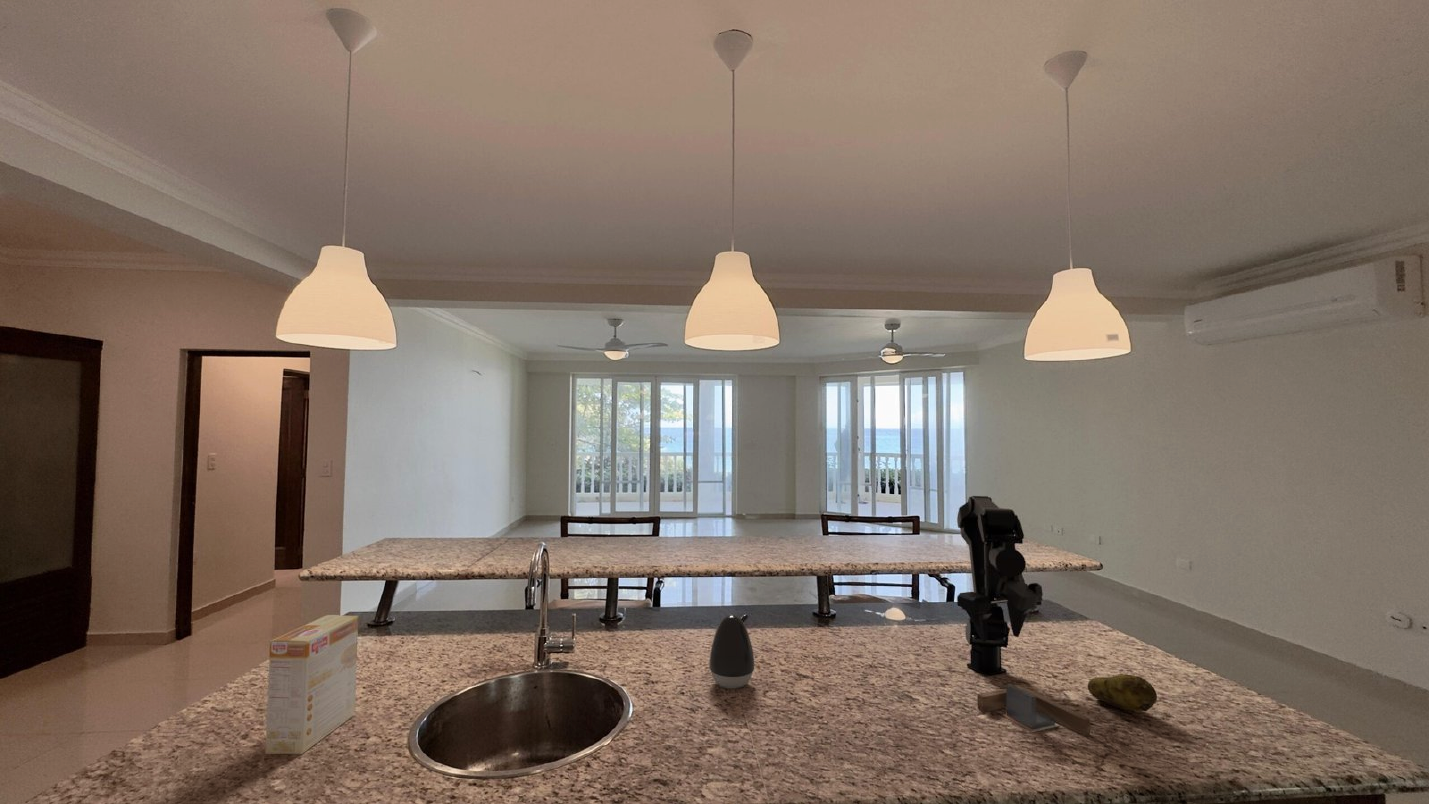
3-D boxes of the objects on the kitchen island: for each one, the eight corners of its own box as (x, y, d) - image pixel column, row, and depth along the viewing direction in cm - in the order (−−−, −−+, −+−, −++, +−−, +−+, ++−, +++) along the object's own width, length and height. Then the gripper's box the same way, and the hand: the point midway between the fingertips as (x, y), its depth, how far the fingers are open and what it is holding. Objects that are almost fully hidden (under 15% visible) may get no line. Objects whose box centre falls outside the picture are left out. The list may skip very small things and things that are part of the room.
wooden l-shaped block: (1019, 699, 127) (1019, 685, 127) (1090, 735, 112) (1089, 718, 112) (975, 708, 122) (975, 693, 123) (1043, 746, 107) (1042, 729, 108)
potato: (1121, 696, 128) (1120, 659, 129) (1166, 725, 115) (1164, 683, 116) (1082, 696, 128) (1081, 658, 129) (1123, 725, 116) (1122, 683, 116)
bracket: (1006, 715, 119) (1006, 685, 119) (1029, 711, 121) (1028, 681, 121) (1031, 729, 113) (1031, 697, 113) (1055, 724, 115) (1054, 693, 115)
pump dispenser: (764, 683, 134) (764, 615, 135) (733, 698, 126) (734, 625, 127) (730, 671, 141) (730, 606, 142) (699, 684, 133) (700, 615, 134)
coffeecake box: (321, 714, 118) (326, 614, 119) (356, 714, 118) (360, 614, 119) (262, 754, 103) (267, 640, 104) (302, 755, 103) (307, 640, 104)
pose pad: (1028, 710, 121) (1028, 709, 122) (1059, 726, 115) (1059, 725, 115) (1002, 715, 119) (1002, 714, 119) (1032, 732, 112) (1032, 731, 112)
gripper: (995, 578, 119) (996, 657, 119) (1062, 571, 126) (1064, 646, 125) (954, 566, 130) (955, 639, 129) (1019, 560, 136) (1020, 629, 135)
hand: (1000, 638), depth 129 cm, fingers open, 9 cm apart
